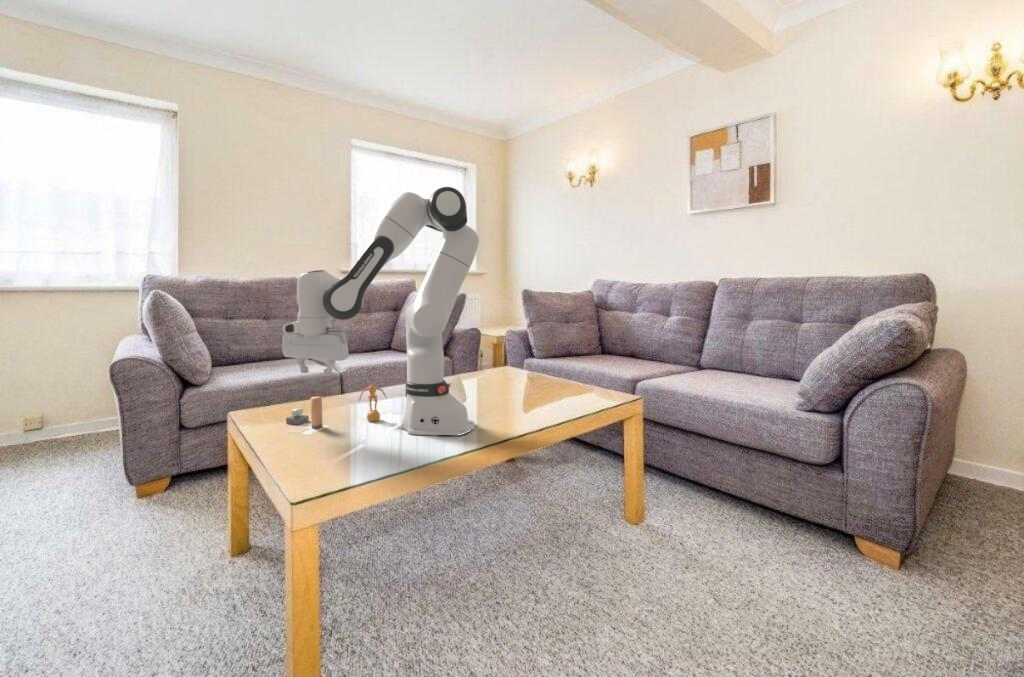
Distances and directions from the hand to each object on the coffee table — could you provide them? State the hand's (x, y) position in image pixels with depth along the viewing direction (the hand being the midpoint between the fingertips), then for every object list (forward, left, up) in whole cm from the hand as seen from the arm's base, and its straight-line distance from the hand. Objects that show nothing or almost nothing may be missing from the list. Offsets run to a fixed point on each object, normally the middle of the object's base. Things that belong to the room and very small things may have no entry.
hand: (316, 373), depth 135 cm
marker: (0, 0, -16) cm, 16 cm away
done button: (+9, -2, -15) cm, 17 cm away
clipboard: (+4, +2, -17) cm, 17 cm away
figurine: (-11, -12, -17) cm, 24 cm away
